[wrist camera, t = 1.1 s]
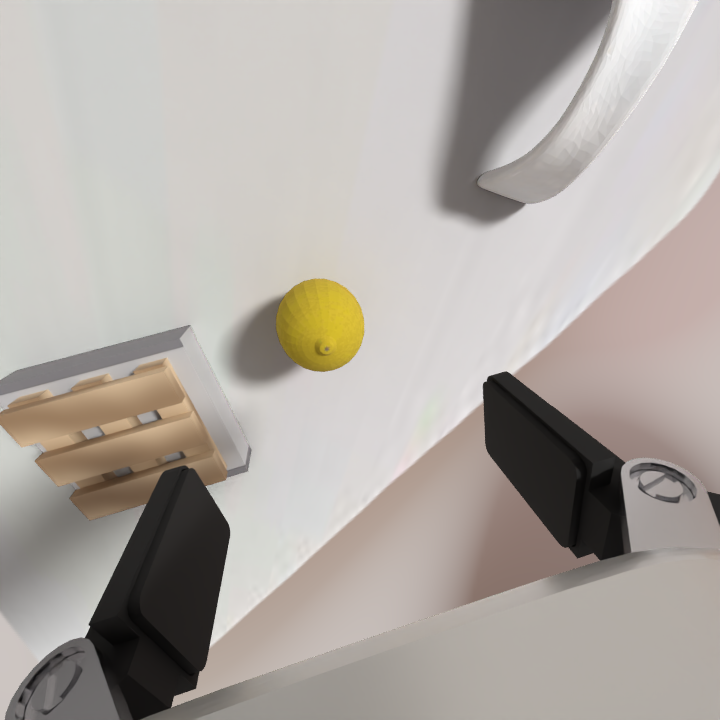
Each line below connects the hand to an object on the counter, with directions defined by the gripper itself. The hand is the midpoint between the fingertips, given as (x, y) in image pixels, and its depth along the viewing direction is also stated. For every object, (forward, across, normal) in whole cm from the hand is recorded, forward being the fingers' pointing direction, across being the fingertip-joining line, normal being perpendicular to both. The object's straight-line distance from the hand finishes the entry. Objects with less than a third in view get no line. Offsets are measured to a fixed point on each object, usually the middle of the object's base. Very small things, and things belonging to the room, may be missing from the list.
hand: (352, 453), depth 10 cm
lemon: (+16, 0, 0) cm, 16 cm away
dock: (+16, +15, +5) cm, 22 cm away
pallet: (+14, +15, +5) cm, 21 cm away
